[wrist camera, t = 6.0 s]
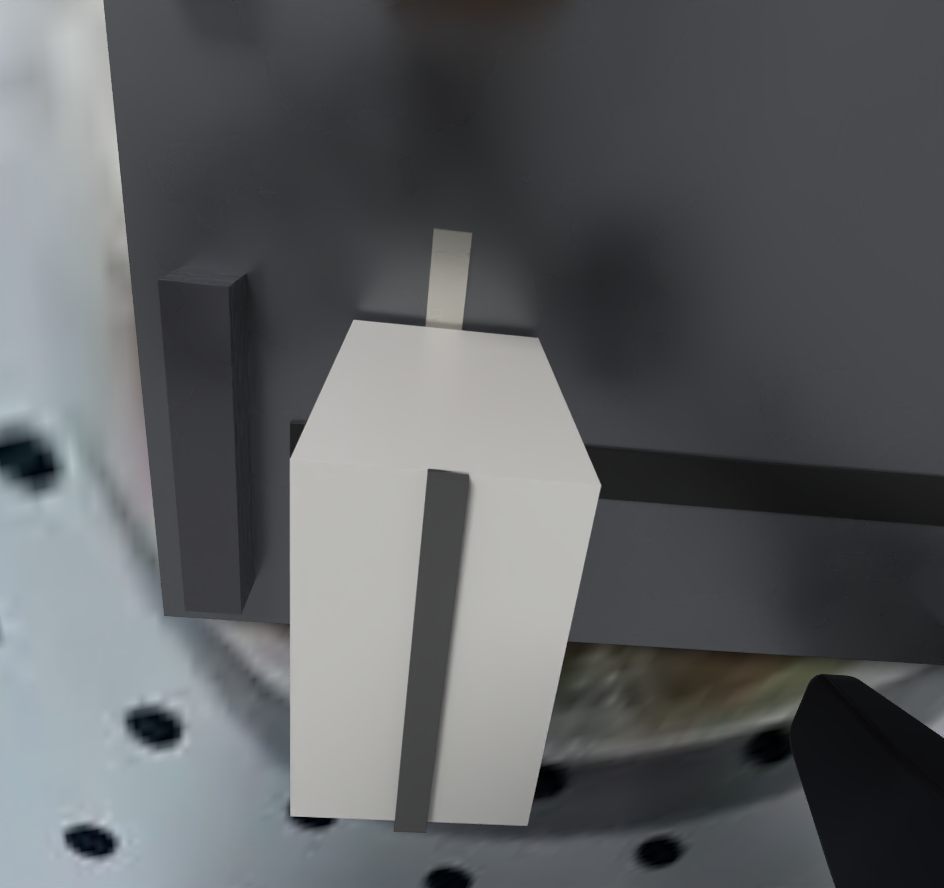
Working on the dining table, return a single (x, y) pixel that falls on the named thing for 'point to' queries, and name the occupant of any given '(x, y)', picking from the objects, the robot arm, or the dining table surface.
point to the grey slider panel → (563, 283)
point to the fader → (432, 576)
